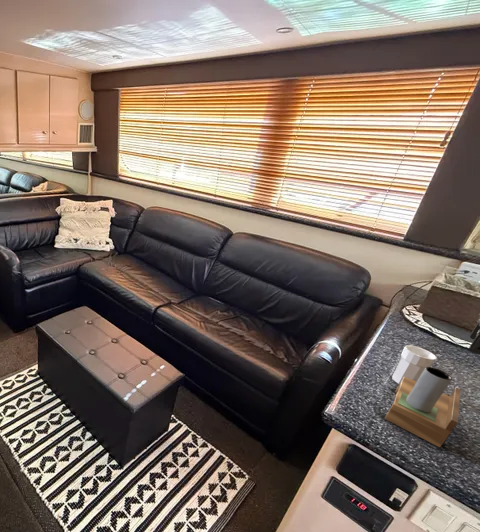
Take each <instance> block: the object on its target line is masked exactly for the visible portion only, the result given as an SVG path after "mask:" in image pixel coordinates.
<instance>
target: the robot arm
mask: <svg viewBox="0 0 480 532" xmlns="http://www.w3.org/2000/svg"><path fill="white" fill-rule="evenodd" d="M479 293H480V290H479ZM476 322H477V324H476V325H475V327H474V329H473V330H472V332H470V335H469V338H470V339H471V340H473V341H472V342H471V344H470V346H469V347H468V351H469V352H471V353H474V354H477V355H480V313H479V314H478V318H477V320H476Z"/></svg>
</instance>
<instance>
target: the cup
mask: <svg viewBox="0 0 480 532" xmlns="http://www.w3.org/2000/svg"><path fill="white" fill-rule="evenodd" d="M400 356H401V357H400V359H399V362H398V363H397V366H396V368H395V370H394V372H393V374H392V375H391V379H392V381H394V382H395V383H397V384H398V385H399V384H400V382H401V381H402V379H403V377H407V378H409V379H411V380H414V381H416V382H417V381H418V379H419V377H420V376H421V374H422V372H423V371H424V369H425V368H426V367H432V366H433V364H434V363H435V361H436V360H437V358H438V357H437V356H436V355H435V354H434V353H433V352H431V351H428V350H427V349H425V348H422V347H419V346H416V345H410V344H407V345H405V346H404V348H403V350H402V352H401V354H400Z"/></svg>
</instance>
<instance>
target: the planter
mask: <svg viewBox="0 0 480 532" xmlns="http://www.w3.org/2000/svg"><path fill="white" fill-rule="evenodd" d="M452 380H453V377H452V376H451V374H449V373H447V372H446V371H444V370H441V369H439V368H436V367H432V366H431V367H426V368H425V369H424V371H423V372H422V374H421V376H420V377H419V379H418V381H417V382H416V384H415V385H414V387H413V389H412V390H411V392H410V394H409V395H408V397H407V399H406V402H407V403H408V404H409V405H410V406H412V407H413V408H415V409H417V410H419V411H422V412H430V411H431V410H432V409H433V407H434V406H435V404H436V403H437V401H438V400H439V398H440V397H441V395H442V394H444V392H445V390H446V389H447V388H448V386H449V385H450V383H451V382H452Z"/></svg>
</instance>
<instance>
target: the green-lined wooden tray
mask: <svg viewBox="0 0 480 532" xmlns="http://www.w3.org/2000/svg"><path fill="white" fill-rule="evenodd" d="M415 384H416V381H414V380H411V379H409V378H407V377H403V379H402V381H401V382H400V384H398V385H397V387H396V390H395V391H394V393H395V394H396V395H395V396H394V399H393V402H392V404H391V407H389V409H388V411H387V413H386V415H385V416H384V420H386V421H388V422H390V423H392V424H394V425H396V426H397V427H399V428H402V429H403V430H405V431H407V432H409V433H411V434H413V435H415V436H417V437H418V438H421V439H423V440H424V441H427V442H429V443H430V444H432V445H434V446H436V447H438V448H441V447H442V445H443V444H444V443H445V441H446V440H447V438H448V437H449V436H450V434H451V433H452V431H453V430H454V429H455V427H456V426H457V425H458V424H459V416H460V415H459V414H460V403H461V392H462V390H461V388H458V387H454V388H453V390H452V391H451V393H450V395H448V394H445V393H443V394H442V395H441V397H440V398H439V400H438V401H437V403H436V404H435V406H434V407H433V409H432V410H431V411H430V412H422V411H419V410H417V409H415V408H413V407H412V406H410V405H409V404H408V403H407V402H406V399H407V397H408V395H409V394H410V392H411V390H412V389H413V387H414V385H415Z"/></svg>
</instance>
